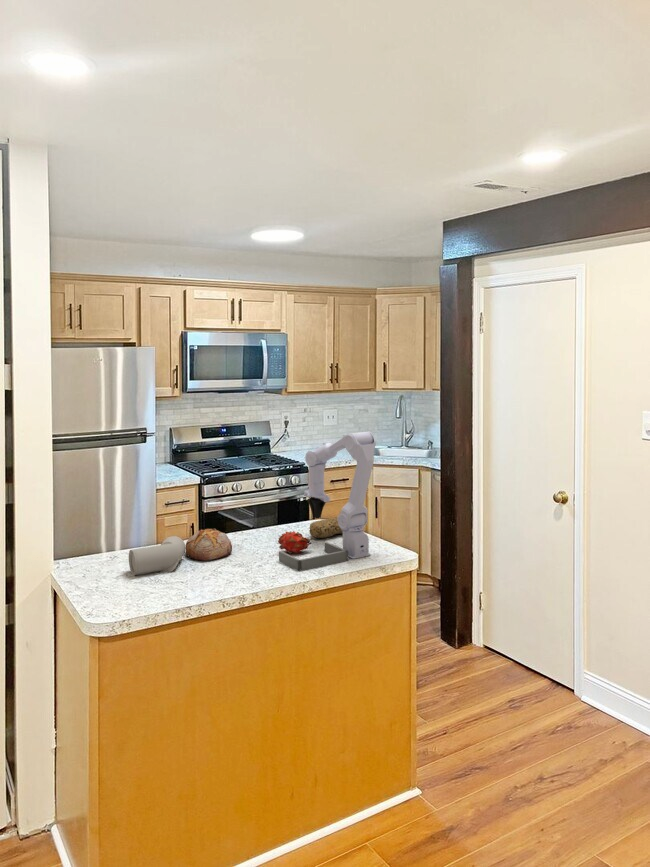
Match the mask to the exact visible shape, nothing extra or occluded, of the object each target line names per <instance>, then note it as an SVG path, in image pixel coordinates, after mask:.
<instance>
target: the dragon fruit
mask: <svg viewBox="0 0 650 867" xmlns="http://www.w3.org/2000/svg"><path fill="white" fill-rule="evenodd" d="M277 542H278V544H279V547H278V548H279V549H280V550H285V551H286V552H285V553H287V554H289V555H290V554H292V553H293V554H294V553H295V554H304V553H305V551H304V550H306V549H308V546H309V545H311V544H312V542H311V540H310V539H309V537H308V538H307V537H304V536H303V534H302V533H299V532H296V531H294V530H293V531H285V532H284V533H282V534H281V536H279V538H278V540H277Z"/></svg>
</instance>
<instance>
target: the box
mask: <svg viewBox="0 0 650 867" xmlns="http://www.w3.org/2000/svg"><path fill="white" fill-rule="evenodd" d="M324 552H325V553H326V554H320V555H315V556H312V557H307V558H301V559H299V558H297V557H295V556H292V555H290V553H287V552H285V551H282V550H279V551H278V562H279V563H281V564H283V565H285V566H288V567H290V568H292V569H293V570H296V571H298V572H302V571H306V570H311V568H312V569H316V568H319V567H326V566H329V565H334V564H337V563H338V564H339V563H343V562H349V557H348V550H345V549H343V547H340V546H337V545H335V544H333V543H330V542H329V541H328V542H327V541H326V542H325V541H324Z"/></svg>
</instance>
